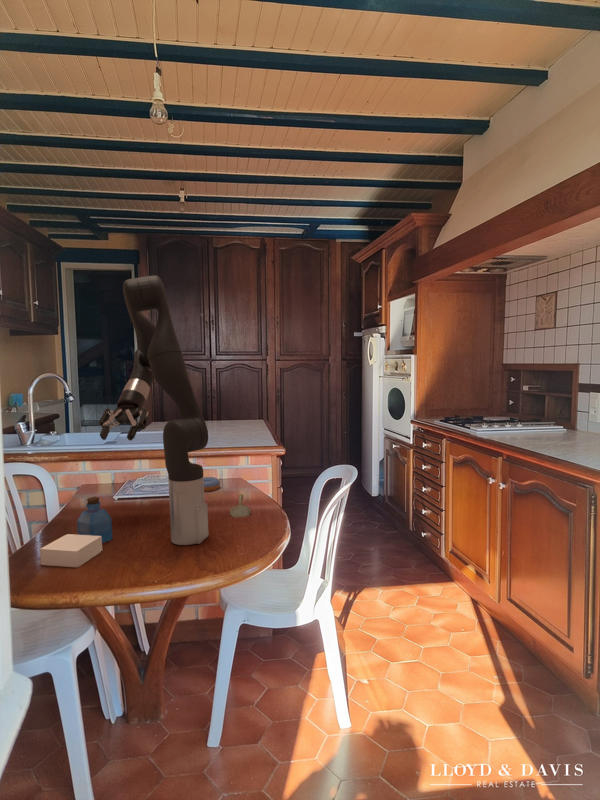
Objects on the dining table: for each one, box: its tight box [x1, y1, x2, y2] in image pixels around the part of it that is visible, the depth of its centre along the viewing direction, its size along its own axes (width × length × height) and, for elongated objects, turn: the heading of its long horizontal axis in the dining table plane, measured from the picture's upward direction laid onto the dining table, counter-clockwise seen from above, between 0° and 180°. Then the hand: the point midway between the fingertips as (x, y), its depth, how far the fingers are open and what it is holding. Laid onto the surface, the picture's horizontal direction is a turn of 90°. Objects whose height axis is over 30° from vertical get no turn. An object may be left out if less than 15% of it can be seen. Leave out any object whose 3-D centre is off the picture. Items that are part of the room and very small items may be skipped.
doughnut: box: [203, 476, 221, 493], centre depth 185 cm, size 10×10×5 cm
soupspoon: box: [229, 493, 252, 518], centre depth 162 cm, size 22×3×7 cm
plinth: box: [39, 533, 103, 568], centre depth 123 cm, size 10×10×4 cm
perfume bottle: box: [76, 496, 113, 544], centre depth 133 cm, size 6×6×12 cm
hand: (115, 438), depth 143 cm, fingers open, 8 cm apart
